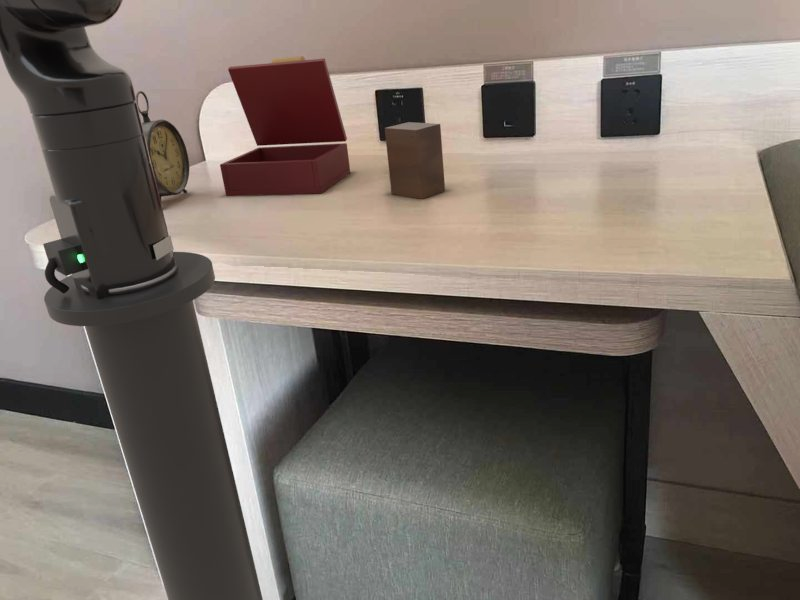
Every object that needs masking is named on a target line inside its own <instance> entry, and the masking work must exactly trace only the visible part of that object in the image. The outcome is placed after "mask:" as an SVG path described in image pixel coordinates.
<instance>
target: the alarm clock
mask: <svg viewBox="0 0 800 600" xmlns="http://www.w3.org/2000/svg"><path fill="white" fill-rule="evenodd" d="M140 94H141V95H142V96H143V97H144V100H145V103H146V109H145V110H142V111H141V109H140V107H139V95H140ZM135 96H136V101H137V105H138V109H139V113H140V116H142V118H143V119H142V120H143V121H141V122H142V126H143V130H144V135H145V139H146V143H147V147H148V151H149V155H150V160H151V164H152V168H153V172H154V176H155V180H156V184H157V189H158V193H159V197H160V201H161V202H162V197H170V196H177V195H180V194H181V193H183V194H187V193H188V190H187V189H186V187H187V184H188V183H189V182H188V181H189V176H190V161H189V154H188V151H187V146H186V144H185V141H184V139H183V137H182V135H181V133H180V132H179V129H177V128H176V126H175V125H174V124H172V123H171V122H170V121H169V120H166V119H162V118H161V119H157V120H151V119H150V117H149V110H150V106H149V105H150V104H149V100H148V97H147V95H146V93H145V92H143V91H142V90H139V91H137V93H135Z"/></svg>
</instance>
